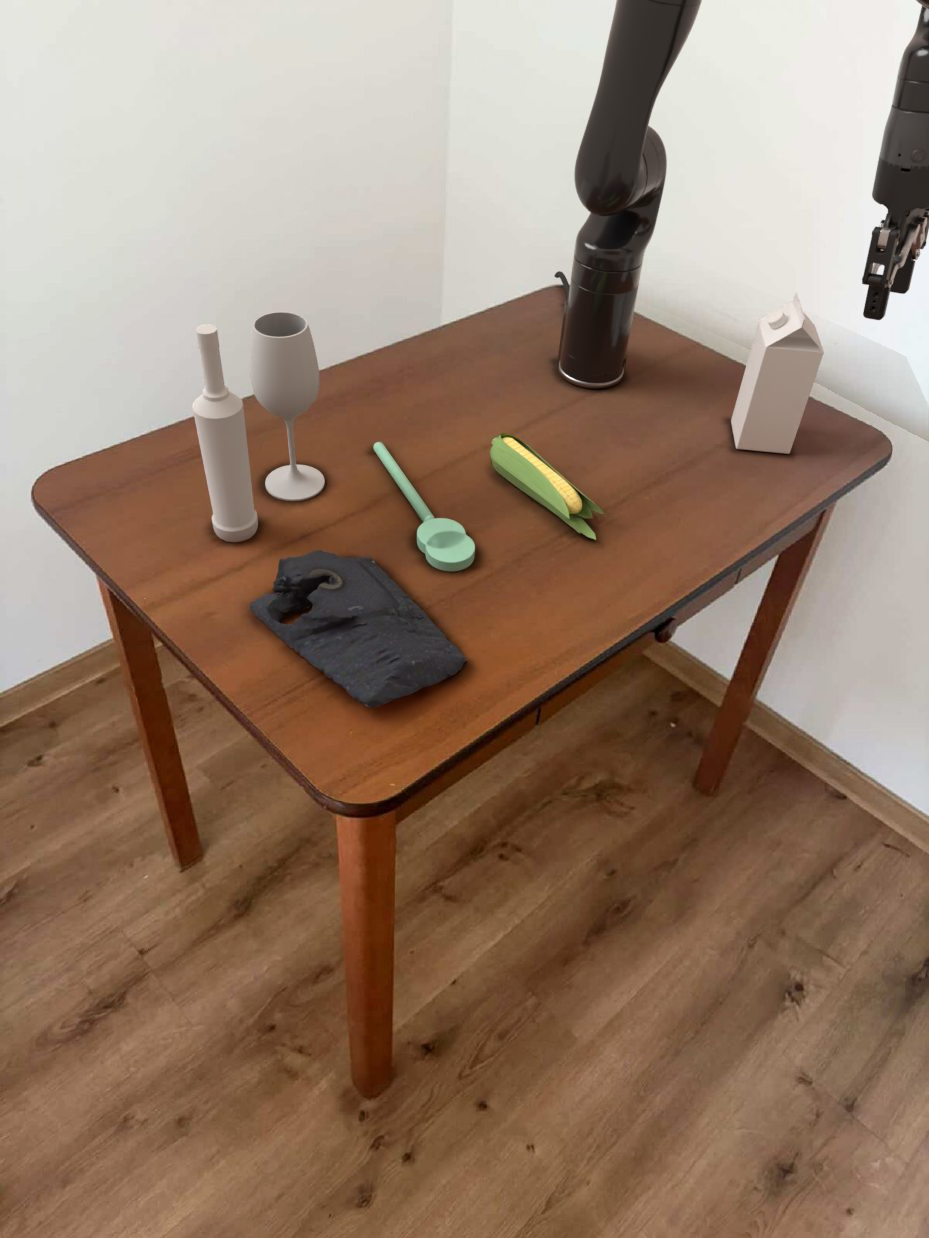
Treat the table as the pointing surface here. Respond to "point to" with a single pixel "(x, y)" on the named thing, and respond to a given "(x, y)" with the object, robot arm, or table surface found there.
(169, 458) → the table surface
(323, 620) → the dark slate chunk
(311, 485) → the wineglass
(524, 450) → the edible corn
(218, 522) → the bottle
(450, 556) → the spoon
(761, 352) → the milk carton
